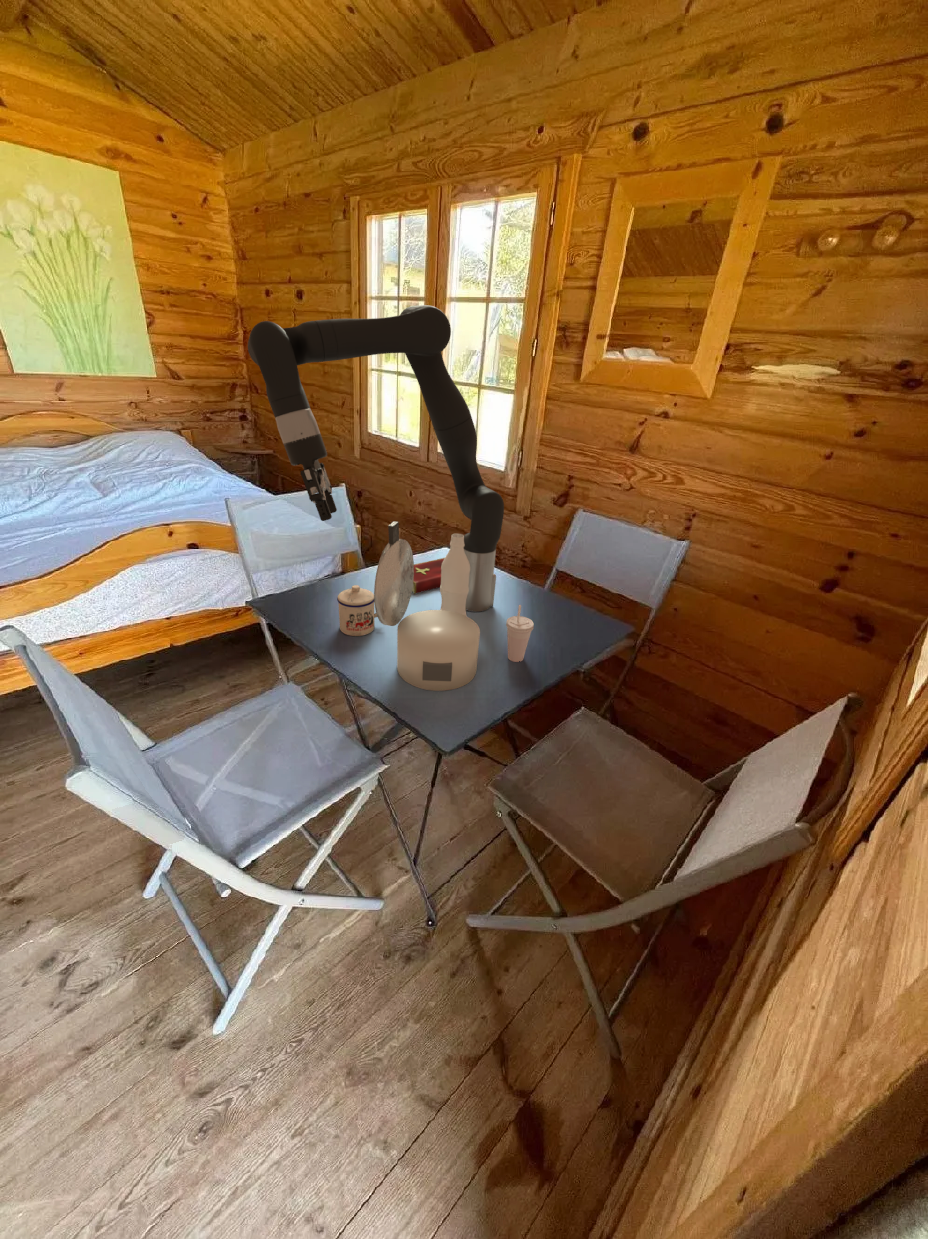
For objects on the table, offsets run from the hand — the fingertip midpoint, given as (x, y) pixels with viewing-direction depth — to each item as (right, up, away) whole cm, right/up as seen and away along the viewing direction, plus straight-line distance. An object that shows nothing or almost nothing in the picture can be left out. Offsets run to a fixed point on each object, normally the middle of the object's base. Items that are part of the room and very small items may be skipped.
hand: (329, 516), depth 108 cm
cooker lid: (+14, -12, +1) cm, 19 cm away
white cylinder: (+22, -33, +9) cm, 40 cm away
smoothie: (+41, -31, +15) cm, 53 cm away
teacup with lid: (+2, -24, +23) cm, 33 cm away
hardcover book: (+19, -10, +52) cm, 56 cm away
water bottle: (+25, -24, +26) cm, 43 cm away
